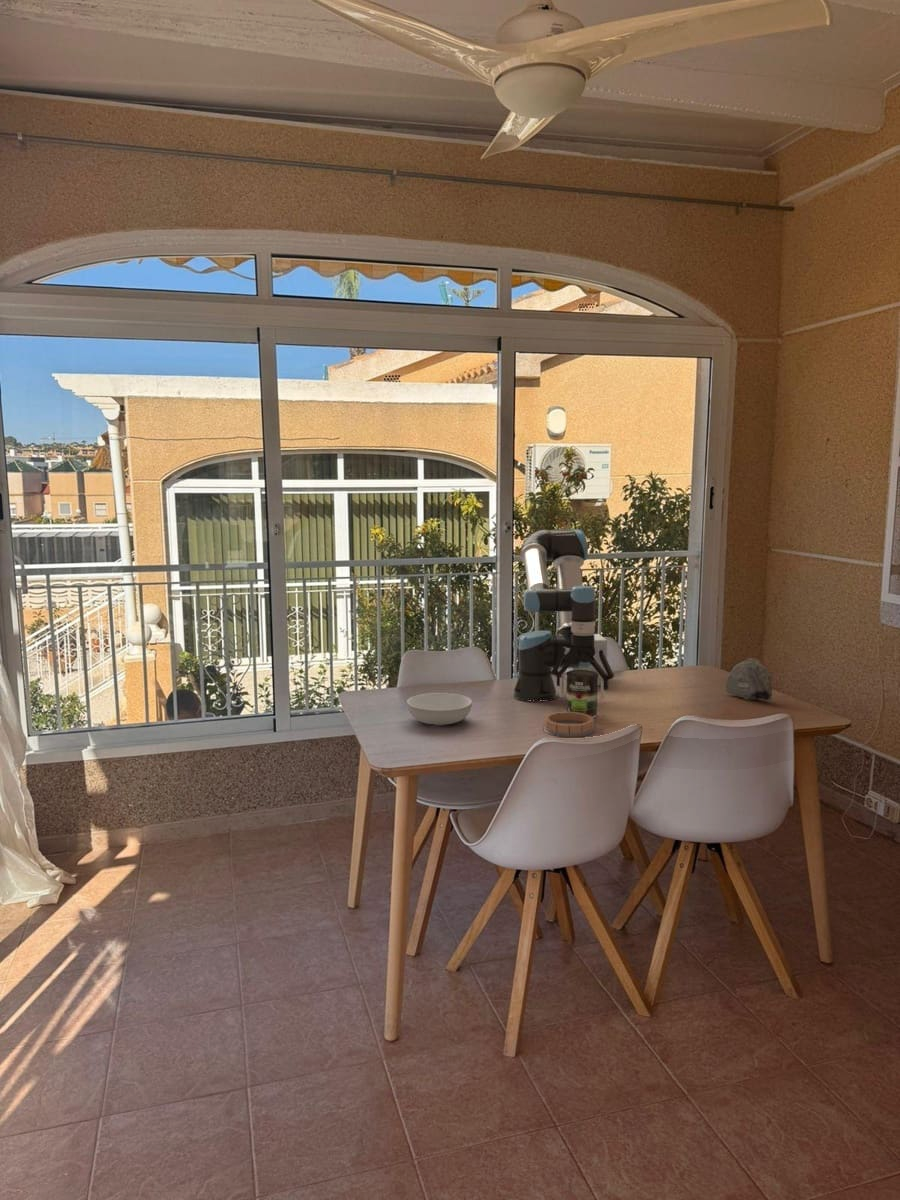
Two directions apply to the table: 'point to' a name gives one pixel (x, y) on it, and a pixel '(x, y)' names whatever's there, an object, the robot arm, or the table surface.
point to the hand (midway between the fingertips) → (582, 697)
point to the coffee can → (582, 692)
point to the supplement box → (595, 656)
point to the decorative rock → (749, 681)
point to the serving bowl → (439, 708)
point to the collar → (569, 724)
